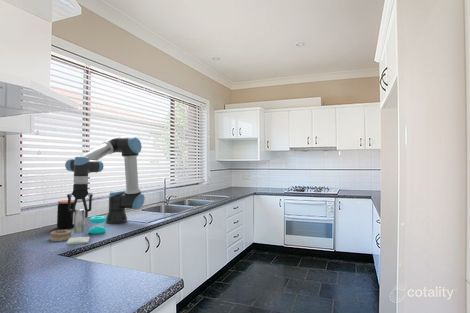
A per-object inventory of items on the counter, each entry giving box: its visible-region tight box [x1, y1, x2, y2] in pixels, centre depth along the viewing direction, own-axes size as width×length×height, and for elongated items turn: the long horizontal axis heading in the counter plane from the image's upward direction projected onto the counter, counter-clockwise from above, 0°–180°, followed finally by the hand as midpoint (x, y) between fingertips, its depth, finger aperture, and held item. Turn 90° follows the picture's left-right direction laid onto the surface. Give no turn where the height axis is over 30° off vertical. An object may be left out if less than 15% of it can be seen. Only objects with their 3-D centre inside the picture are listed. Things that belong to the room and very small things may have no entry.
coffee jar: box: [56, 199, 76, 230], centre depth 208 cm, size 11×11×18 cm
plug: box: [73, 208, 85, 235], centre depth 176 cm, size 5×5×13 cm
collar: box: [49, 229, 72, 242], centre depth 180 cm, size 10×10×4 cm
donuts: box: [88, 215, 107, 235], centre depth 197 cm, size 10×10×10 cm
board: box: [65, 236, 91, 246], centre depth 176 cm, size 11×11×1 cm
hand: (79, 223), depth 176 cm, fingers closed on plug, 5 cm apart
